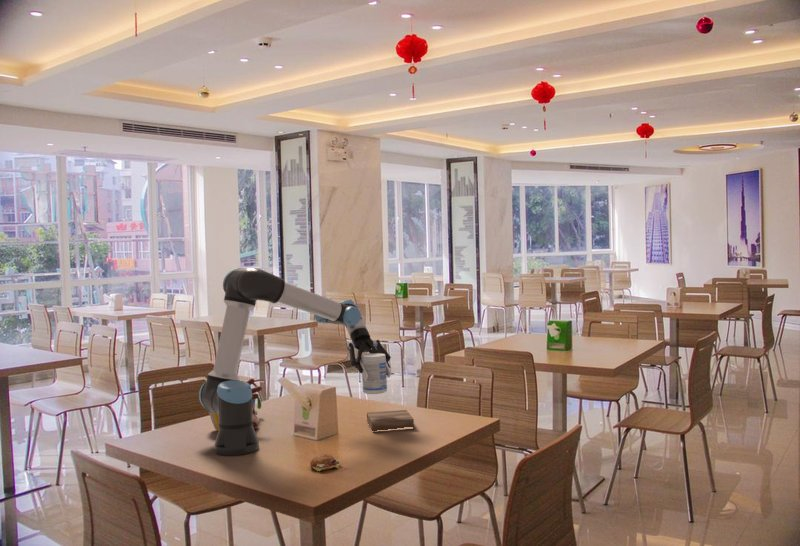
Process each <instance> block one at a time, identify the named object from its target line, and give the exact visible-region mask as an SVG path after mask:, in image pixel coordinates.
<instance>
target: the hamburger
mask: <svg viewBox="0 0 800 546" xmlns="http://www.w3.org/2000/svg"><path fill="white" fill-rule="evenodd" d="M309 463H310V466H311V468H312V470H314V471H317V472H318V471H319V472H321V471H322V470H323V471H329V470H332V469H333V468H337V469H340V470H341V471H343V470H347V469H348V468H347V467H343V466H340V461H338V460H337V459H336V458H335V457H334V456H333V455H332V454H325V453H324V454H323V453H322V454H318V455H316V456H314V457H313V458H312V459H311V460H310V462H309ZM342 468H343V469H342ZM344 468H346V469H344ZM323 471H322V472H323Z"/></svg>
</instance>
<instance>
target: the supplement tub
mask: <svg viewBox="0 0 800 546" xmlns="http://www.w3.org/2000/svg"><path fill="white" fill-rule="evenodd" d="M361 363H363V365H364V367H365V369H366V372H367V374H368V376H369V377H368V379H367V381H365V380H364V378H363V376H362V375H361V379H362V380H361V381H362V392H363V393H364V394H365V395H366V394H367V395H380V394H385V393H386V392H387V391H388V382H387V381H388V380H387V378H388V377H387V375H386V356H385V354H380V353H373V354H371V353H363V354H362V356H361Z"/></svg>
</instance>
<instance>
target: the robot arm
mask: <svg viewBox="0 0 800 546" xmlns="http://www.w3.org/2000/svg"><path fill="white" fill-rule="evenodd" d="M222 289H223V291H224V293H225V294H224V298H223V302H224V303H225V305H226V309H225V314H224V319H223V323H222V328H221V333H220V337H219V342H218V347H217V350H216V356H215V359H214V360H215V361H214V365H213V369H212V370H211V371H210V372H208V373H207V376H206V381H205V382H204V383H203V384H202V385H201V386H200V389H199V392H198V399H199V402H200V404H201V406H202V407H203V408H204V409H205V410H206V411H208V413H209V412H211V413H215V414H218V419H219V431H218V432H217V435H216V438H215V441H214V446H213V448H214V453H215V454H216V455H220V456H227V457H228V456H230V457H231V456H241V455H246V454H251V453H254V452H256V451H257V450H258V449H259V447H260V446H259V445H260V442H259V439H258V436H257V433H256V431H255V428H253V412H252V390H251V388H252V385H250V384H249V383H247V381H243V380H241V379H240V377H239V376H238V369H239V364H240V359H241V355H242V350H243V345H244V340H245V335H246V333H247V332H246V331H247V327H248V322H249V317H250V312H251V310H252V309H254V308H255V307H256V304H257V301H264V302H268V303H272V304H278V303H280V304H283V305H286V306H289V307H292V308H293V309H294V308H295V309H298V310H300V311H303V312H307V313H309V314H312V315H314V319H315V321H316V322H317V323H320V324H333V325H340V326H341V325H342V326H345V328H346V330H347V332H348V335H349V338H350V340H351V342H349V343H348V345H347V347H346V348H347V350H348V352H349V359H350V360H349V361H350V366H351V367H354V368H355V369H357V370H358V373H359V374H361V377H362V376H363V378H364V380H365V381H367V379H368V377H369V376H368V374H367V372H366V369H365V367H364V365H363V363H362V355H363V354H364V353H369V354H373V353H380V354H385V356H386V376H387V378H390V377H391V376H392V374H393V372H392V371H391V369H390V368H391V365H390V363H389V362H390V360H391V358H392V357H391V355H390V354H389V353H388V351H387V350H386V349H385V348H384V346H383V345H382V344H381V341H380V340H379V339H376V341H375V340H374V341H373V340H372V338H371V335H370V332H369V331H368V329H367V326H366V324H365V322H364V320H363V318H362V313H361V311H360V309H359V307H358V306H357V305H356V303H355V302H354V301H353V300H352V299H346V300H343V301H340V302H339V301H336V300H334V299H331V298H328V297H326V296H322V295H319V294H317V293H315V292H311V291H310V290H306V289H303V288H301V287H298V286H296V285H293V284H290V283H288V282H286V281H285V279H284V278H282V277H279V276H277V275H275V274H273V273H270V272H269V271H266V270H263V269H260V268H256V267H238V268H237V267H236V268H234V269H232V270H230V271H229V272H227V273H226V275H225V276H224V278H223V282H222ZM355 350H357V353H356V354H357V355H356V354H355ZM356 356H357V357H356Z"/></svg>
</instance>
